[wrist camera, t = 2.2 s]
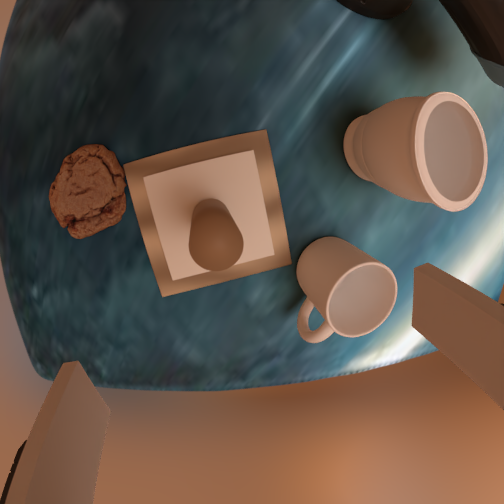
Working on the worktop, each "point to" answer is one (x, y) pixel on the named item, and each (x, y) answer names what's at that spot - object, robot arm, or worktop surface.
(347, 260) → the mug
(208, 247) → the lid
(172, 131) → the worktop surface
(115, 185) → the cookie
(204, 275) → the cloth
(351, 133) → the jar
